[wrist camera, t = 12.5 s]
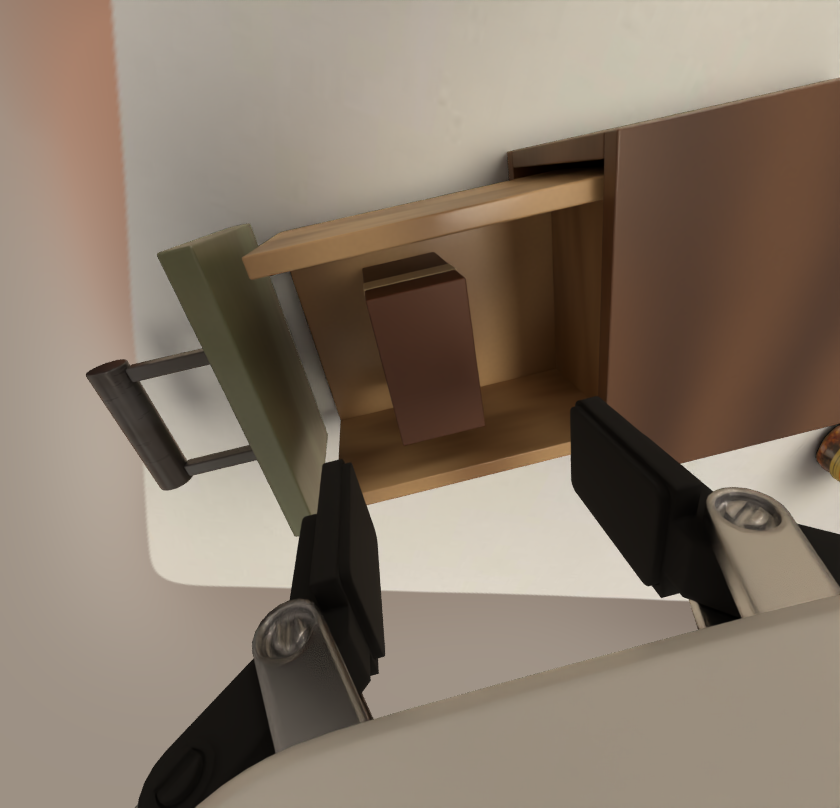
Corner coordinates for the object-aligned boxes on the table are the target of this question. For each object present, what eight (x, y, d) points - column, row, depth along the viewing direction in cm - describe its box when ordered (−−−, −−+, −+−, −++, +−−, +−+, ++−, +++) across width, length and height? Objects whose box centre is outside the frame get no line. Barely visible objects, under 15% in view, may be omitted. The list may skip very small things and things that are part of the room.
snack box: (390, 383, 25) (402, 447, 19) (361, 267, 22) (364, 300, 16) (454, 368, 25) (486, 426, 19) (435, 250, 22) (466, 276, 16)
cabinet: (524, 388, 29) (603, 483, 20) (506, 151, 22) (617, 128, 13) (771, 328, 30) (959, 393, 20) (832, 79, 23) (1164, 6, 13)
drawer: (232, 458, 27) (185, 565, 20) (123, 251, 21) (-11, 290, 13) (560, 378, 28) (638, 452, 20) (555, 154, 22) (666, 138, 14)
